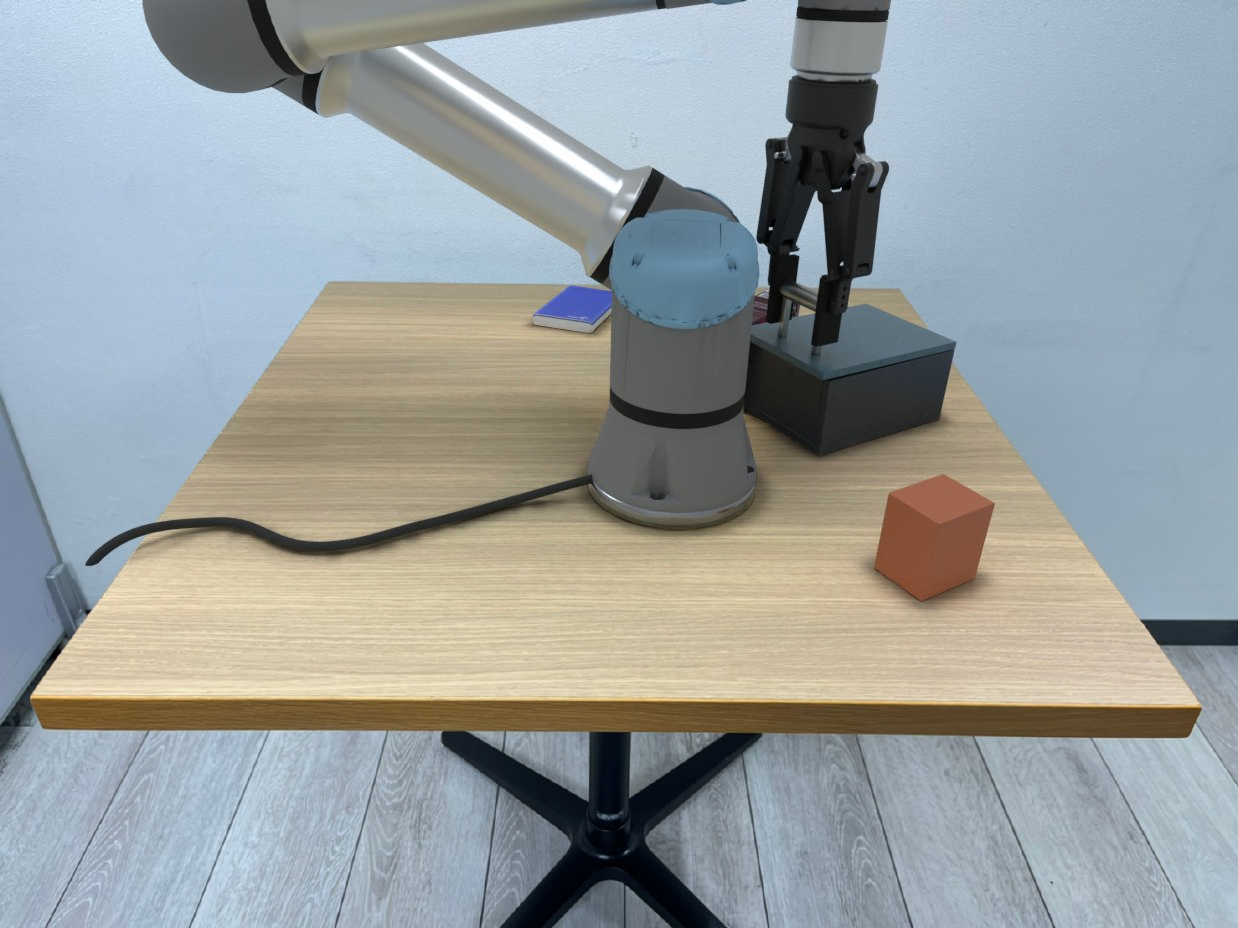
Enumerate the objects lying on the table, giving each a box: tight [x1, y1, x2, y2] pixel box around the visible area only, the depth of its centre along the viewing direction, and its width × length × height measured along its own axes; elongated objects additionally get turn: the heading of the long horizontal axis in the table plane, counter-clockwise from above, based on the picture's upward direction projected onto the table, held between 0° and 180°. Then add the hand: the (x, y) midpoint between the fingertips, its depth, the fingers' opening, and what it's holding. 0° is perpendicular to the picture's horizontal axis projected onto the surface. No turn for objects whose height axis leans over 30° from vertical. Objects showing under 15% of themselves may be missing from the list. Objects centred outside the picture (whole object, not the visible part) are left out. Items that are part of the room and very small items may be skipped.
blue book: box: [532, 285, 612, 334], centre depth 121 cm, size 2×8×12 cm
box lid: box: [750, 279, 957, 380], centre depth 91 cm, size 18×13×7 cm
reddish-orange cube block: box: [873, 473, 996, 602], centre depth 70 cm, size 6×5×7 cm
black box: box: [743, 342, 956, 457], centre depth 95 cm, size 17×13×8 cm
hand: (801, 331), depth 89 cm, fingers closed on box lid, 6 cm apart
